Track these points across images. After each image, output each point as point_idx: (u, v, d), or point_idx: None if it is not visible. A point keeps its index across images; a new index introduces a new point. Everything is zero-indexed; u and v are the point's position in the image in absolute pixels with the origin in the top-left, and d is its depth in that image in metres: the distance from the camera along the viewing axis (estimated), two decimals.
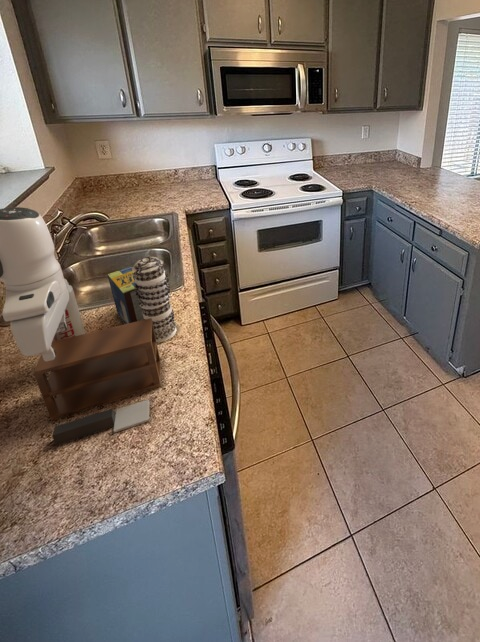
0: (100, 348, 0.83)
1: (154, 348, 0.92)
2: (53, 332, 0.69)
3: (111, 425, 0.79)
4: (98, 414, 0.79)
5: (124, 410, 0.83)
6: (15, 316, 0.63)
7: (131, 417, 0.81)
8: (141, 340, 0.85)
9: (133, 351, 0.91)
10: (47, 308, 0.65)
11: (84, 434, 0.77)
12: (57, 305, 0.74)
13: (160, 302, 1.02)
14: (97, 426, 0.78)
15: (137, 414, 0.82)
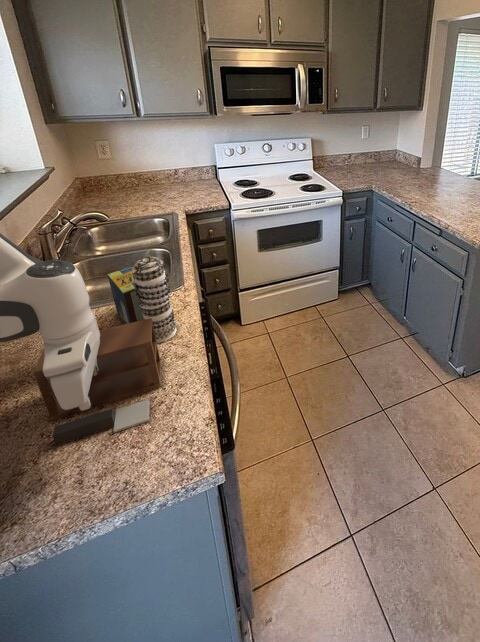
0: (100, 348, 0.83)
1: (154, 348, 0.92)
2: (89, 382, 0.70)
3: (111, 425, 0.79)
4: (98, 414, 0.79)
5: (124, 410, 0.83)
6: (55, 372, 0.63)
7: (131, 417, 0.81)
8: (141, 340, 0.85)
9: (133, 351, 0.91)
10: (85, 362, 0.66)
11: (84, 434, 0.77)
12: (91, 352, 0.75)
13: (160, 302, 1.02)
14: (97, 426, 0.78)
15: (137, 414, 0.82)
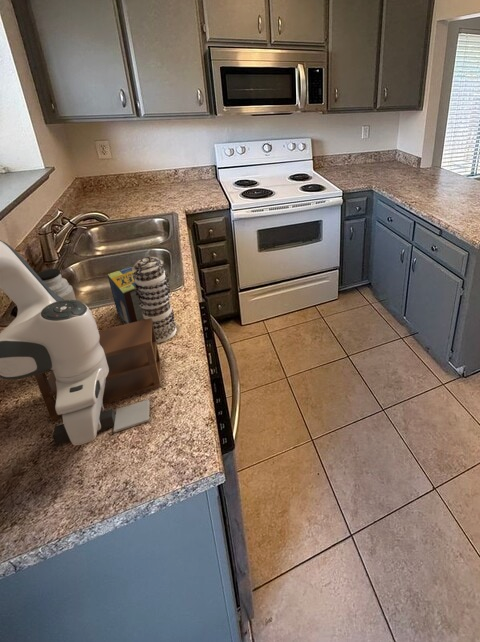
0: None
1: (154, 348, 0.92)
2: (98, 416, 0.73)
3: (111, 425, 0.79)
4: None
5: (124, 410, 0.83)
6: (67, 410, 0.66)
7: (131, 417, 0.81)
8: (141, 340, 0.85)
9: (133, 351, 0.91)
10: (95, 399, 0.69)
11: None
12: None
13: (160, 302, 1.02)
14: None
15: (137, 414, 0.82)
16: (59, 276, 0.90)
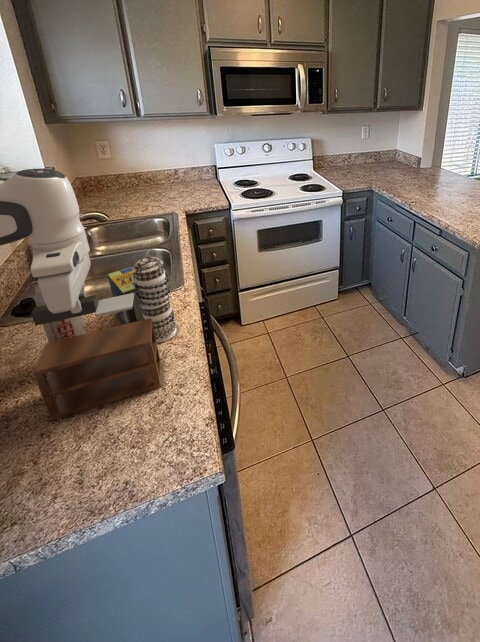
0: (100, 348, 0.83)
1: (154, 348, 0.92)
2: (77, 292, 0.71)
3: (92, 310, 0.77)
4: (80, 299, 0.77)
5: (107, 300, 0.80)
6: (43, 272, 0.64)
7: (113, 305, 0.78)
8: (141, 340, 0.85)
9: (133, 351, 0.91)
10: (73, 266, 0.66)
11: (65, 317, 0.75)
12: (80, 268, 0.75)
13: (160, 302, 1.02)
14: None
15: (120, 303, 0.79)
16: None
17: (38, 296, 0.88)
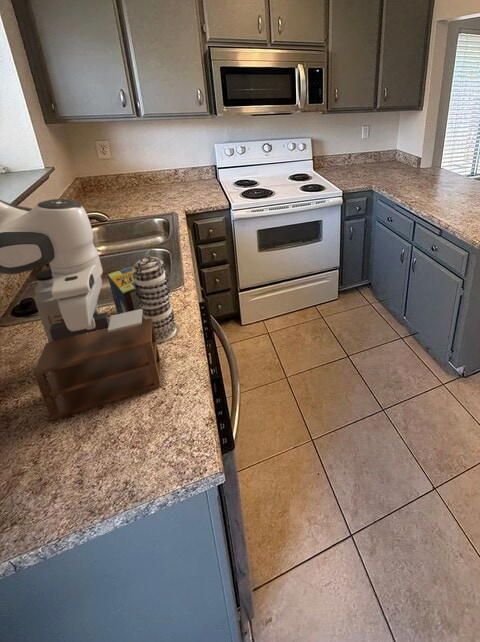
0: (100, 348, 0.83)
1: (154, 348, 0.92)
2: (92, 311, 0.78)
3: (105, 326, 0.83)
4: (93, 316, 0.83)
5: (118, 316, 0.87)
6: (62, 295, 0.71)
7: (124, 321, 0.85)
8: (141, 340, 0.85)
9: (133, 351, 0.91)
10: (89, 288, 0.73)
11: (80, 333, 0.82)
12: (94, 288, 0.82)
13: (160, 302, 1.02)
14: None
15: (130, 319, 0.86)
16: None
17: (38, 296, 0.88)
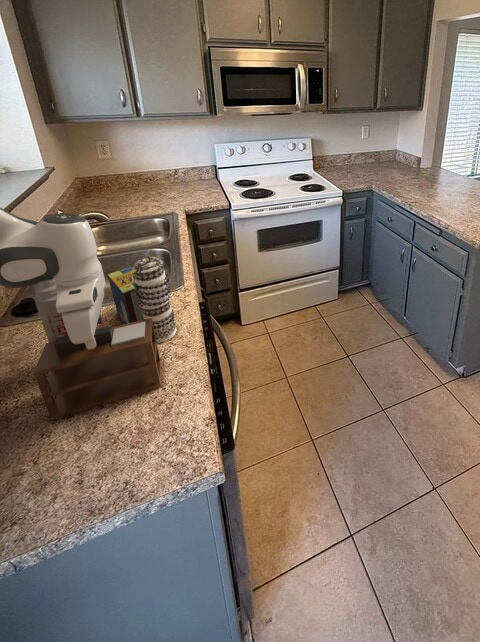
0: (100, 348, 0.83)
1: (154, 348, 0.92)
2: (95, 323, 0.79)
3: (109, 340, 0.85)
4: (97, 330, 0.85)
5: (121, 329, 0.88)
6: (67, 308, 0.72)
7: (127, 335, 0.86)
8: (141, 340, 0.85)
9: (133, 351, 0.91)
10: (93, 302, 0.74)
11: (84, 346, 0.83)
12: (97, 300, 0.83)
13: (160, 302, 1.02)
14: (96, 340, 0.83)
15: (133, 332, 0.87)
16: None
17: (38, 296, 0.88)
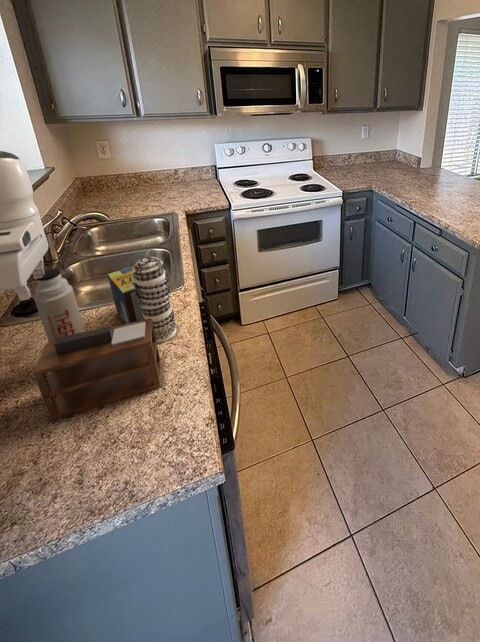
0: (100, 348, 0.83)
1: (154, 348, 0.92)
2: (29, 272, 0.73)
3: (109, 340, 0.85)
4: (97, 330, 0.85)
5: (121, 329, 0.88)
6: None
7: (127, 335, 0.86)
8: (141, 340, 0.85)
9: (133, 351, 0.91)
10: (23, 245, 0.68)
11: (84, 346, 0.83)
12: (35, 249, 0.77)
13: (160, 302, 1.02)
14: (96, 340, 0.83)
15: (133, 332, 0.87)
16: (59, 276, 0.90)
17: (38, 296, 0.88)
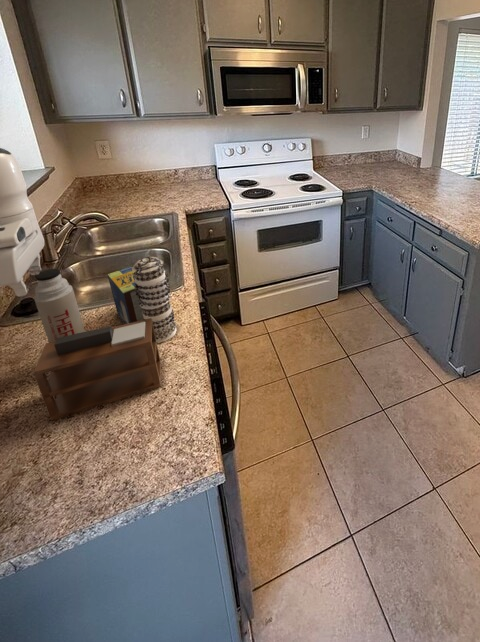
0: (100, 348, 0.83)
1: (154, 348, 0.92)
2: (25, 268, 0.72)
3: (109, 340, 0.85)
4: (97, 330, 0.85)
5: (121, 329, 0.88)
6: None
7: (127, 335, 0.86)
8: (141, 340, 0.85)
9: (133, 351, 0.91)
10: (17, 241, 0.68)
11: (84, 346, 0.83)
12: (30, 245, 0.77)
13: (160, 302, 1.02)
14: (96, 340, 0.83)
15: (133, 332, 0.87)
16: (59, 276, 0.90)
17: (38, 296, 0.88)
